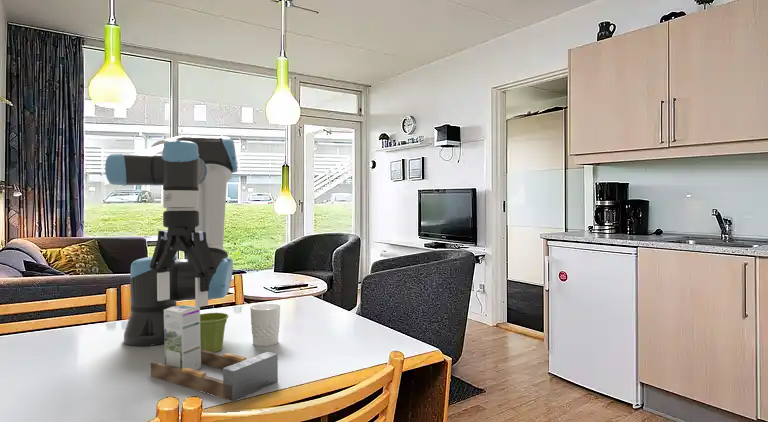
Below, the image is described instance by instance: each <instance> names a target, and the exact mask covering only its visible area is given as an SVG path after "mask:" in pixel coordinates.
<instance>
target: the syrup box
mask: <svg viewBox="0 0 768 422" xmlns="http://www.w3.org/2000/svg"><path fill="white" fill-rule="evenodd" d="M200 314H201V307H195V306H194V305H185V304H179V305H176V306H174V307H170V308H167V309H165V310H164V364H166V365H170V366H173V367H177V368H180V369H184V368H186V367H188V368H191V369H195V370H198V371H199V370H200V369H202V364H201V338H200Z"/></svg>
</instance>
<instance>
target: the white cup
mask: <svg viewBox="0 0 768 422" xmlns="http://www.w3.org/2000/svg"><path fill="white" fill-rule="evenodd" d="M249 309H250V324H251V325H250V326H251V335H252V344H253V345H254V346H256V347H270V346H273V345H276V344H278V343H279V333H280V322H281V321H280V320H281V305H280V304H277V303H273V302H272V303H258V304H254V305H251V306H250V307H249Z"/></svg>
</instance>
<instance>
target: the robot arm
mask: <svg viewBox="0 0 768 422" xmlns="http://www.w3.org/2000/svg"><path fill="white" fill-rule="evenodd" d="M104 169H105V170H104V171H105V177H106V179H107V181H108V183H109V184H111V185H113V186H123V187H125V186H163V187H162V190H163V192H162V193H163V194H162V195H163V196H162V200H163V201H162V202H163V203H162V205H163V206H162V207H163V208H164V209H165V210H164V211H163V212H162V225H163V227H164V228H167V229H165V230H164V229H163V230H158V233H157V241H156V244H155V247H154V250H153V251H154V252H153V254H152V256H147V257H142V258H139V259H138V258H137V259H136V260H134V261H132V263H131V265H130V275H129V282H130V283H129V284H130V285H129V288H130V289H129V290H130V291H129V293H130V314H129V318H128V320H127V324H126V326H125V331H124V334H123V343H124V344H126V345H128V346H132V347H133V346H135V347H137V346H138V347H145V346H146V347H147V346H148V347H149V346H158V345H163V344H164V310H165V309H167V308H170V307H174V306H177V301H192V300H193V301H195V307H200V308H202V307H205V306H208V305H209V301H211V300H216V299H223V298H224V297H226V296H227V295H228V293H229V291H230V288H231V283H232V278H233V268H234V265H233V264H234V262H233V259H232V258H231V257H229V256H228V255H229V253H228V251H227V250H225V248H224V236H225V235H224V234H225V217H226V199H227V183H228V182H229V181H230V180H231V179H232V177H233V173H234V174H235V173H237V172H238V163H237V154H236V147H235V141H234V139H233V138H232V137H230V136H221V135H218V136H215V135H214V136H210V135H206V136H205V135H177V136H173V137H168V138H165V139H161V140H158V141H156V142H154V143H153V144H152V145H151V146H150V147H147V148H145V149H142V150H139V151H136V152H133V153H112V154H109V155H108V156H107V158H106V159H105V165H104ZM178 252H183V253H184V254H185V258H177V257H178V256H177V255H176V254H177V253H178Z"/></svg>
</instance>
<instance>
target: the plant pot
mask: <svg viewBox="0 0 768 422" xmlns="http://www.w3.org/2000/svg"><path fill="white" fill-rule="evenodd" d="M228 318H229V314H227V313H226V312H225V313H223V312H207V313H200V338H201V349H202V350H206V351H211V352H215V353H217V352H219V351H221V350H222V349H223V346H224V345H223V344H224V337H225V336H224V335H225V328H226V323H227V319H228Z"/></svg>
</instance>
